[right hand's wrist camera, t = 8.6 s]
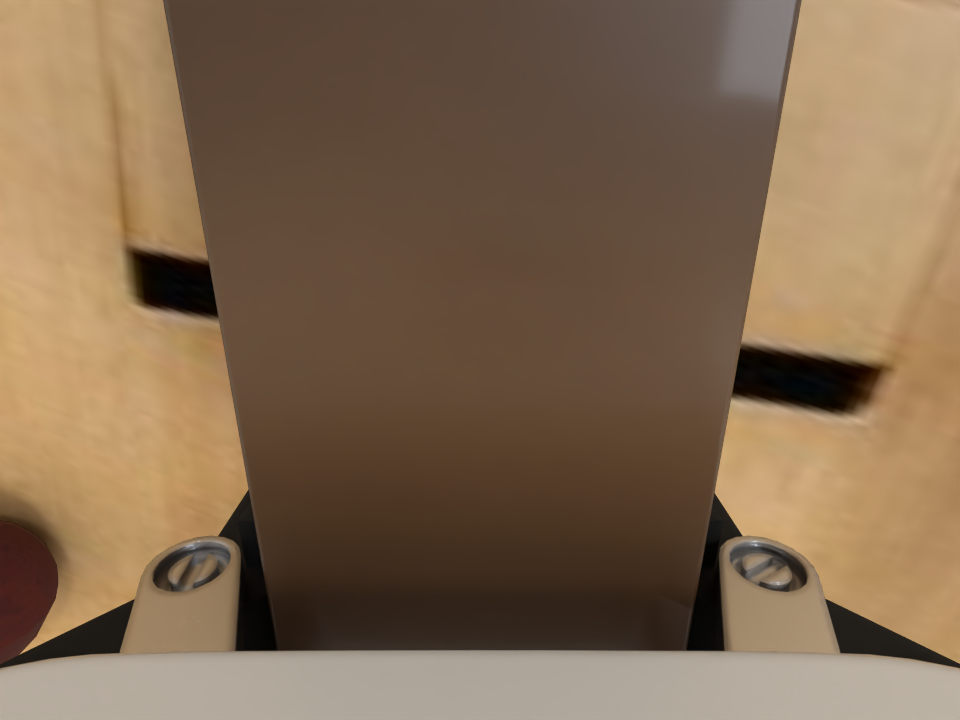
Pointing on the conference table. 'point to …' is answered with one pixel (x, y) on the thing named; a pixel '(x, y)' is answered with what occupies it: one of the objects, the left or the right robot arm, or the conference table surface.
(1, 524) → the potato
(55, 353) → the conference table surface
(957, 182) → the conference table surface
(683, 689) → the right robot arm
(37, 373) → the conference table surface
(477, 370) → the beam
